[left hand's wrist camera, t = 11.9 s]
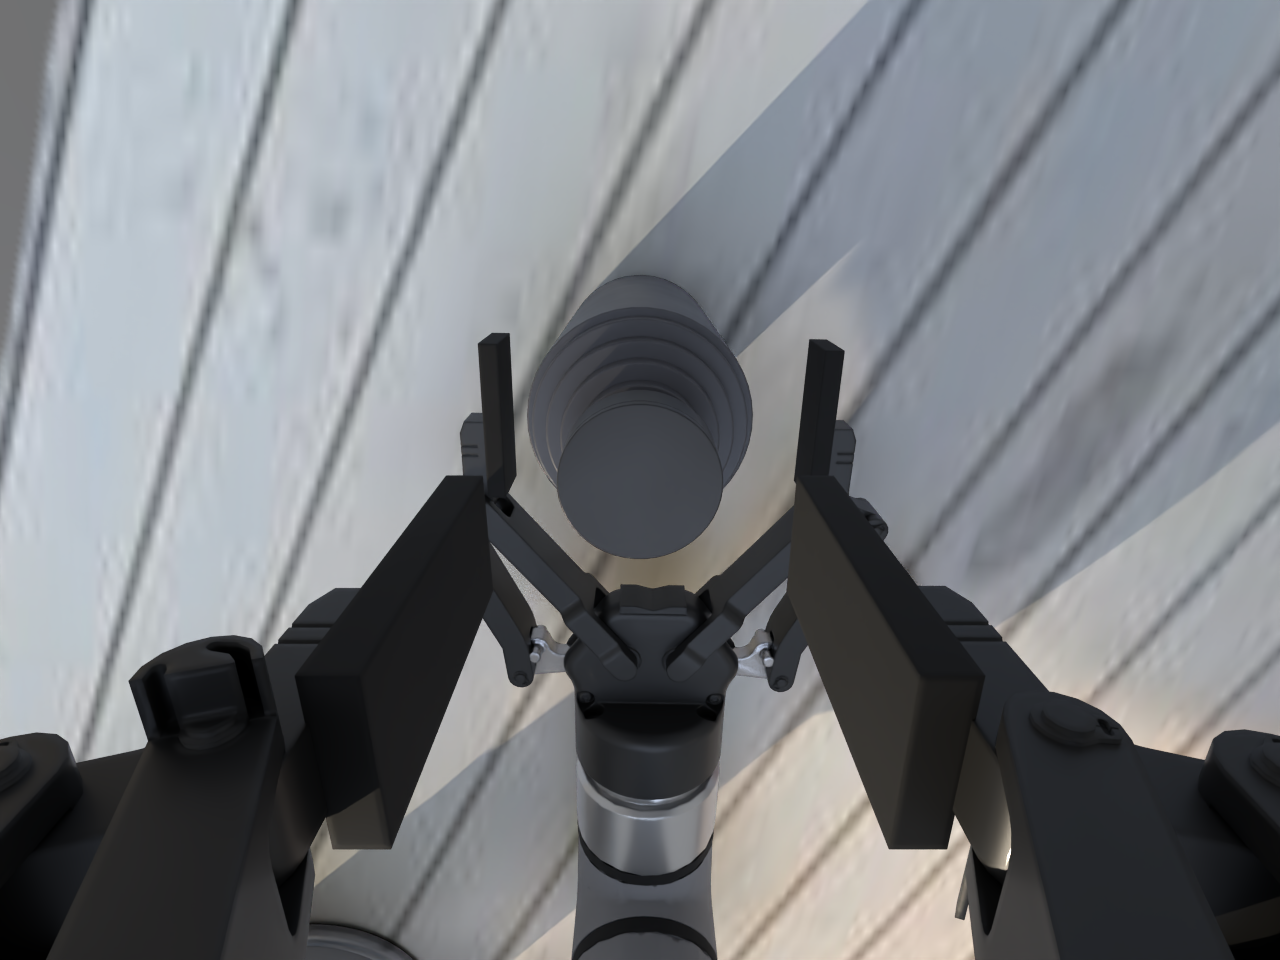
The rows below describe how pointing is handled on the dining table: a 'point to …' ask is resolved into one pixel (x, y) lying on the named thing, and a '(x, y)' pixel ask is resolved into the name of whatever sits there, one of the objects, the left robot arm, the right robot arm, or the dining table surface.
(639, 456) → the cap
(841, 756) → the dining table surface
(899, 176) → the dining table surface
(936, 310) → the dining table surface
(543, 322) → the dining table surface
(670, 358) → the bottle
